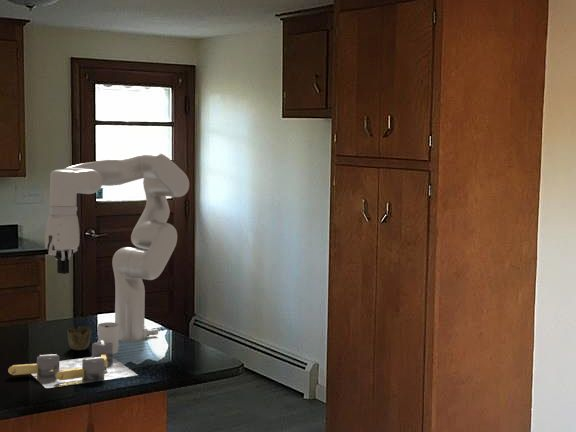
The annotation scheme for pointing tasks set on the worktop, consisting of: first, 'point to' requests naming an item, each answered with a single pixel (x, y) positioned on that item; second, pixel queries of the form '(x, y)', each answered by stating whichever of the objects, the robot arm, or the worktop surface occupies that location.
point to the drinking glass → (109, 334)
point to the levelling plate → (111, 372)
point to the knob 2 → (103, 351)
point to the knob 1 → (38, 367)
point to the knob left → (85, 370)
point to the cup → (79, 338)
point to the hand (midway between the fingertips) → (63, 272)
